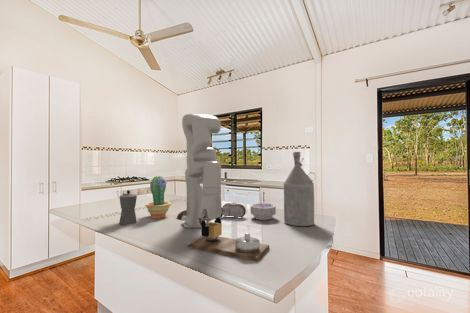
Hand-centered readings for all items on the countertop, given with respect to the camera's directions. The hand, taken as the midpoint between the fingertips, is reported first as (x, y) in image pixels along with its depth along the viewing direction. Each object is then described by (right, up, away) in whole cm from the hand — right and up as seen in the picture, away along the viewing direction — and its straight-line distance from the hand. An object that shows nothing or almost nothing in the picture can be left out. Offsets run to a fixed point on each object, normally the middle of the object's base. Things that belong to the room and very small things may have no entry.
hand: (211, 232), depth 95 cm
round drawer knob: (0, -3, 0) cm, 3 cm away
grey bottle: (+45, -6, +32) cm, 56 cm away
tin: (+9, -6, +46) cm, 47 cm away
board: (+7, -4, -5) cm, 10 cm away
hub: (+14, -3, -9) cm, 17 cm away
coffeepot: (-50, -6, +33) cm, 61 cm away
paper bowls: (+26, -6, +44) cm, 51 cm away
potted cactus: (-38, -6, +48) cm, 62 cm away
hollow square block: (0, -1, 0) cm, 1 cm away
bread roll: (-19, -6, +45) cm, 50 cm away
